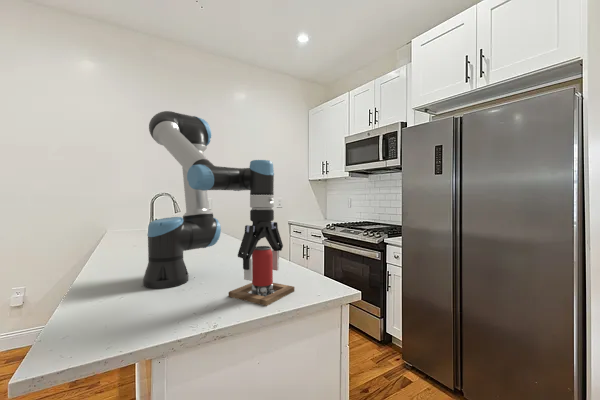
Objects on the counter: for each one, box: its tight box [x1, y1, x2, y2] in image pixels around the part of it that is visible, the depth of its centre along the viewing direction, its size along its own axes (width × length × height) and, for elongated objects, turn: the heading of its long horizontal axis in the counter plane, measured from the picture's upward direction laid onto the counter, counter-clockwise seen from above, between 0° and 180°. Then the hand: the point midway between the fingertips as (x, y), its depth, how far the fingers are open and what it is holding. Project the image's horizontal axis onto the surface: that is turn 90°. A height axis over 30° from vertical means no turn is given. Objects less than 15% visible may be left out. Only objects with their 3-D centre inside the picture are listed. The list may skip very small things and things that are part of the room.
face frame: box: [228, 282, 295, 307], centre depth 95 cm, size 15×15×2 cm
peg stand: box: [251, 284, 274, 296], centre depth 95 cm, size 5×5×3 cm
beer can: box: [251, 245, 274, 287], centre depth 95 cm, size 7×7×12 cm
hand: (262, 274), depth 95 cm, fingers open, 13 cm apart
